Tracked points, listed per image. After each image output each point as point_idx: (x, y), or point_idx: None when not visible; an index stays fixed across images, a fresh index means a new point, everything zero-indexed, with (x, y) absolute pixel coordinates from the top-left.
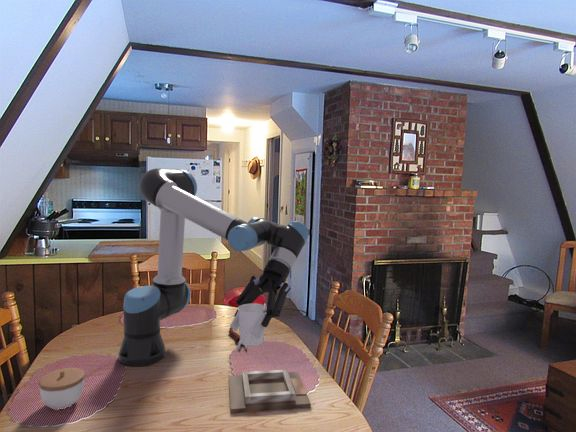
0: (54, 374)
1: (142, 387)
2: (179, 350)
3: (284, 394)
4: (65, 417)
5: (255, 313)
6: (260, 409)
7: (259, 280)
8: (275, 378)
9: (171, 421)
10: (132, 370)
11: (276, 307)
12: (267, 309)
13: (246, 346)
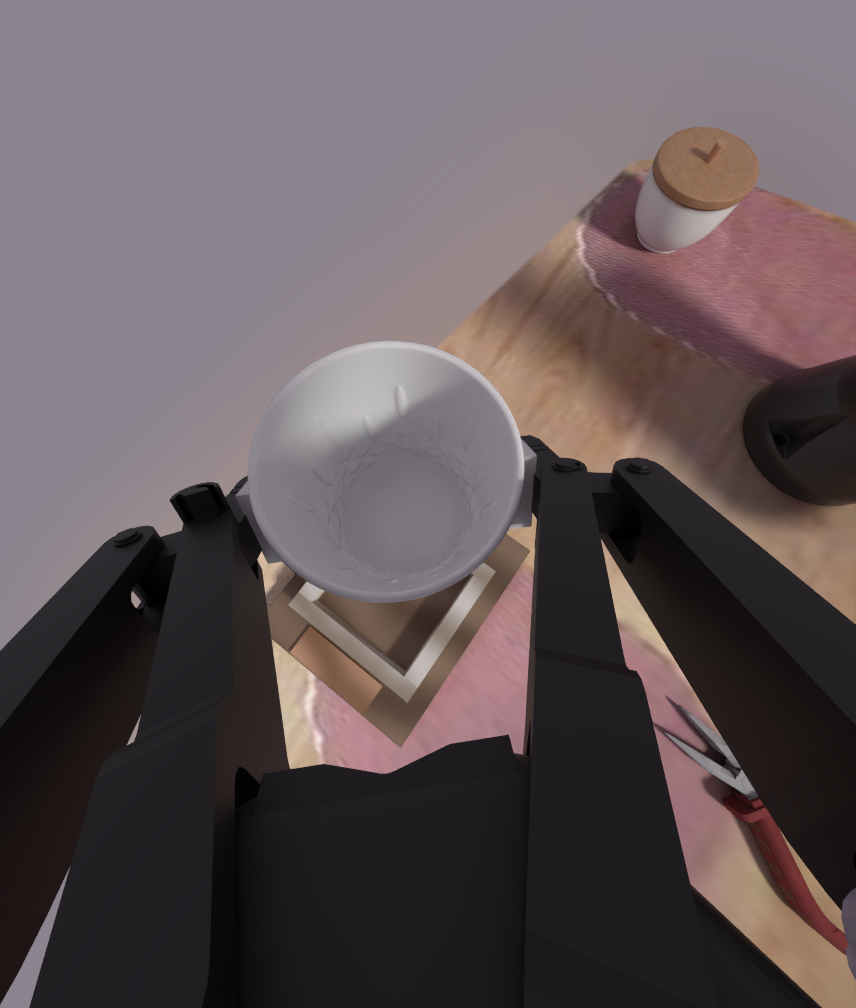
0: (731, 151)
1: (629, 368)
2: (797, 546)
3: None
4: (605, 227)
5: (276, 410)
6: None
7: None
8: (420, 649)
9: (456, 354)
10: (734, 385)
11: (90, 571)
12: (218, 524)
13: (685, 750)
